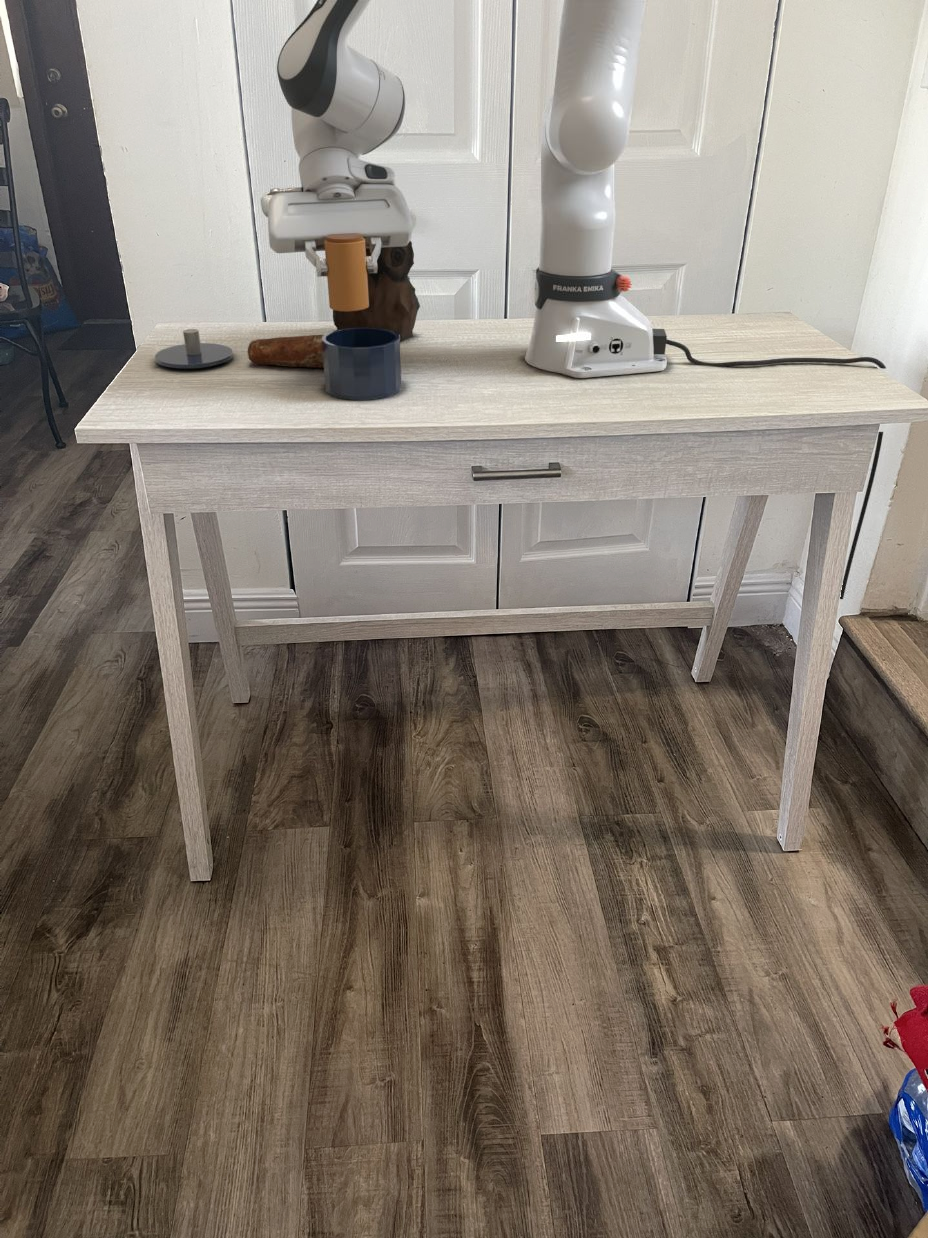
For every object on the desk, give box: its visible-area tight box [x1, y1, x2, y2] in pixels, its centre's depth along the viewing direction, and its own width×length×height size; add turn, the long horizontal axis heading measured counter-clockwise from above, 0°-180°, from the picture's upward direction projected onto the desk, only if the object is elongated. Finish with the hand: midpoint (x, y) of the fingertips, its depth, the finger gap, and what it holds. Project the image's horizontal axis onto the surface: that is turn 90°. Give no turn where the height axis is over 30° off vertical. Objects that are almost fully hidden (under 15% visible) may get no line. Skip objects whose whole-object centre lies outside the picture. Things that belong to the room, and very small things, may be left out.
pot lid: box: [154, 328, 234, 370], centre depth 151 cm, size 12×12×5 cm
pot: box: [322, 327, 402, 401], centre depth 138 cm, size 11×11×8 cm
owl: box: [332, 240, 421, 342], centre depth 158 cm, size 13×13×20 cm
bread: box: [247, 333, 326, 369], centre depth 148 cm, size 6×19×6 cm, turn 80°
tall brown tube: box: [324, 233, 369, 311], centre depth 132 cm, size 6×6×10 cm
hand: (347, 272), depth 131 cm, fingers closed on tall brown tube, 5 cm apart
